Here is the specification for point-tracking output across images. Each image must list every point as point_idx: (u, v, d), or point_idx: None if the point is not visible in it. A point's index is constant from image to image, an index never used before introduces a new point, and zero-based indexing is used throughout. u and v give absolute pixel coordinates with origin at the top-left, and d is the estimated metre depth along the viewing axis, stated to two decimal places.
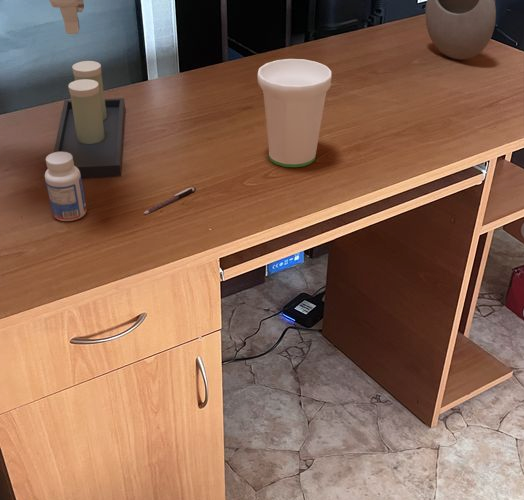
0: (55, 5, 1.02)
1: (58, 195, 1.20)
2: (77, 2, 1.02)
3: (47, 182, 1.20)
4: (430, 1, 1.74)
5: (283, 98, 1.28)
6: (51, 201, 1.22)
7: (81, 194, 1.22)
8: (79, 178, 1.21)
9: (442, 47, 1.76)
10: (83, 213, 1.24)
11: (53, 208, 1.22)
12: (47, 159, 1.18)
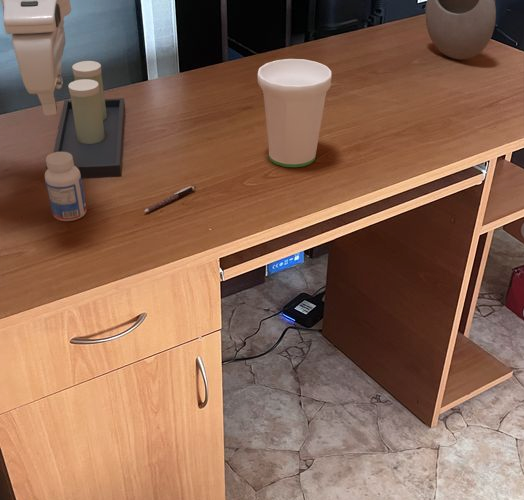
0: (31, 92, 1.03)
1: (58, 195, 1.20)
2: (53, 89, 1.03)
3: (47, 182, 1.20)
4: (430, 1, 1.74)
5: (283, 98, 1.28)
6: (51, 201, 1.22)
7: (81, 194, 1.22)
8: (79, 178, 1.21)
9: (442, 47, 1.76)
10: (83, 213, 1.24)
11: (53, 208, 1.22)
12: (47, 159, 1.18)
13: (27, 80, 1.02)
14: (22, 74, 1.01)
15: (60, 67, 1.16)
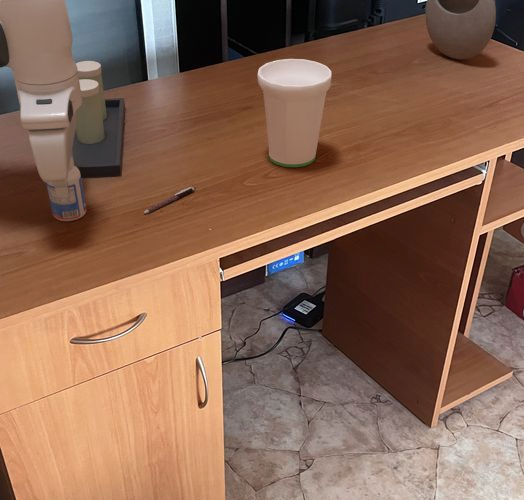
0: (46, 181, 1.11)
1: None
2: (66, 177, 1.11)
3: (47, 182, 1.20)
4: (430, 1, 1.74)
5: (283, 98, 1.28)
6: (51, 201, 1.22)
7: (81, 194, 1.22)
8: (79, 178, 1.21)
9: (442, 47, 1.76)
10: (83, 213, 1.24)
11: (53, 208, 1.22)
12: None
13: (42, 170, 1.09)
14: (37, 165, 1.09)
15: None
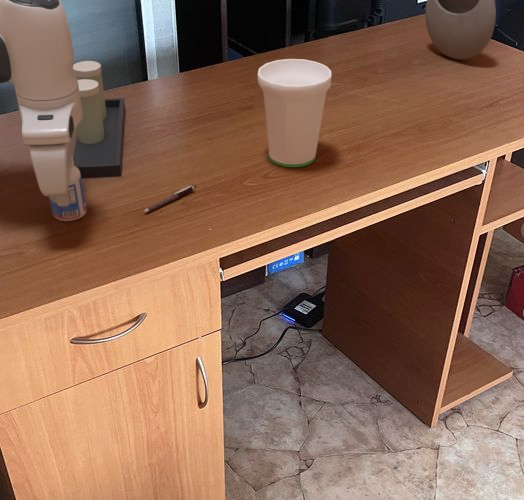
0: (46, 195, 1.12)
1: None
2: (66, 192, 1.12)
3: None
4: (430, 1, 1.74)
5: (283, 98, 1.28)
6: (51, 201, 1.22)
7: (81, 194, 1.22)
8: (79, 178, 1.21)
9: (442, 47, 1.76)
10: (83, 213, 1.24)
11: (53, 208, 1.22)
12: None
13: (43, 185, 1.11)
14: (38, 180, 1.10)
15: None
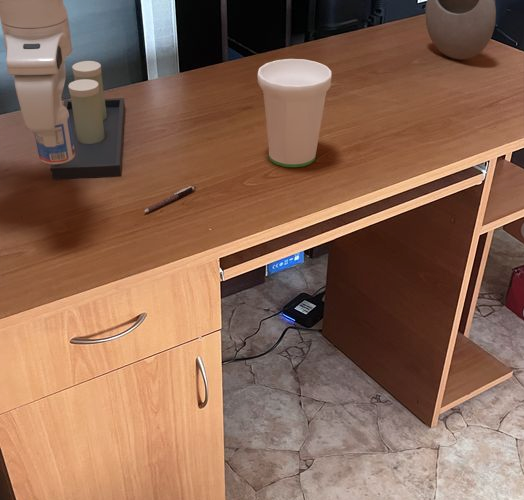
0: (32, 131, 1.06)
1: None
2: (53, 128, 1.06)
3: None
4: (430, 1, 1.74)
5: (283, 98, 1.28)
6: (38, 142, 1.15)
7: (69, 135, 1.16)
8: (67, 118, 1.14)
9: (442, 47, 1.76)
10: (72, 157, 1.18)
11: (40, 150, 1.16)
12: None
13: (28, 119, 1.04)
14: (23, 114, 1.04)
15: None
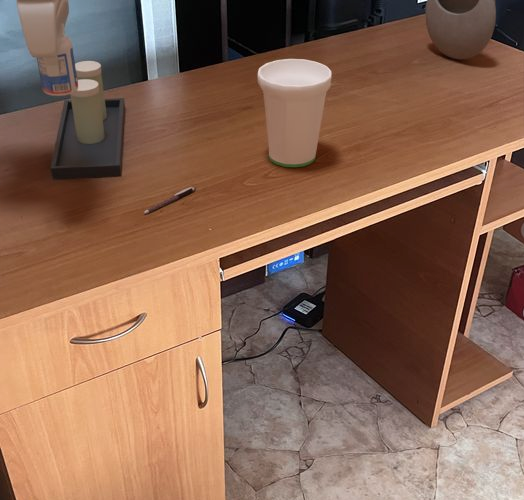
0: (34, 55, 1.06)
1: None
2: (55, 53, 1.07)
3: None
4: (430, 1, 1.74)
5: (283, 98, 1.28)
6: (41, 73, 1.16)
7: (72, 66, 1.16)
8: (70, 48, 1.15)
9: (442, 47, 1.76)
10: (75, 89, 1.18)
11: (43, 81, 1.17)
12: None
13: (31, 43, 1.05)
14: (26, 37, 1.05)
15: None
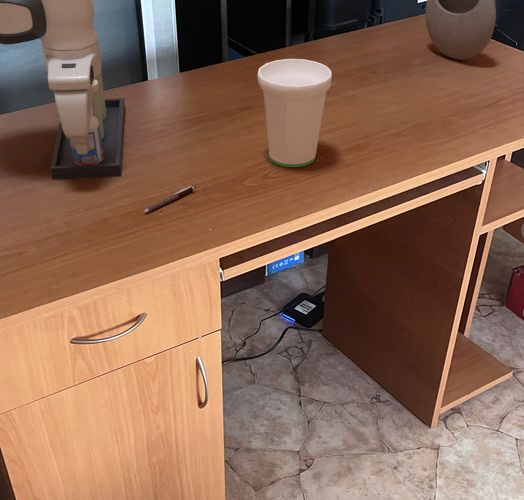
0: (69, 137, 1.25)
1: None
2: (87, 134, 1.25)
3: None
4: (430, 1, 1.74)
5: (283, 98, 1.28)
6: (72, 148, 1.34)
7: (99, 141, 1.35)
8: (97, 126, 1.33)
9: (442, 47, 1.76)
10: (101, 160, 1.37)
11: (74, 154, 1.35)
12: None
13: (66, 127, 1.23)
14: (62, 123, 1.23)
15: None
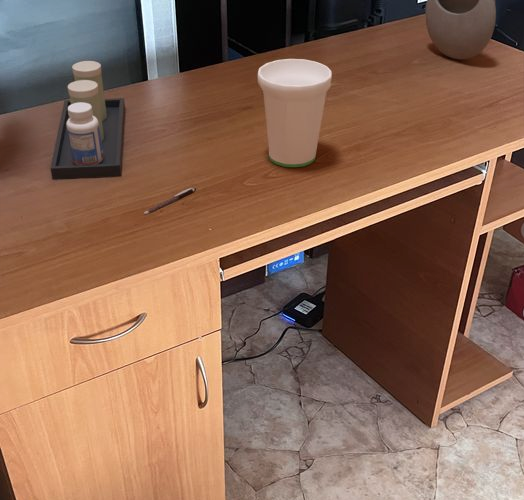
0: None
1: (79, 141, 1.33)
2: None
3: (69, 130, 1.32)
4: (430, 1, 1.74)
5: (283, 98, 1.28)
6: (72, 148, 1.34)
7: (99, 141, 1.35)
8: (97, 126, 1.33)
9: (442, 47, 1.76)
10: (101, 160, 1.37)
11: (74, 154, 1.35)
12: (69, 108, 1.31)
13: None
14: None
15: None
